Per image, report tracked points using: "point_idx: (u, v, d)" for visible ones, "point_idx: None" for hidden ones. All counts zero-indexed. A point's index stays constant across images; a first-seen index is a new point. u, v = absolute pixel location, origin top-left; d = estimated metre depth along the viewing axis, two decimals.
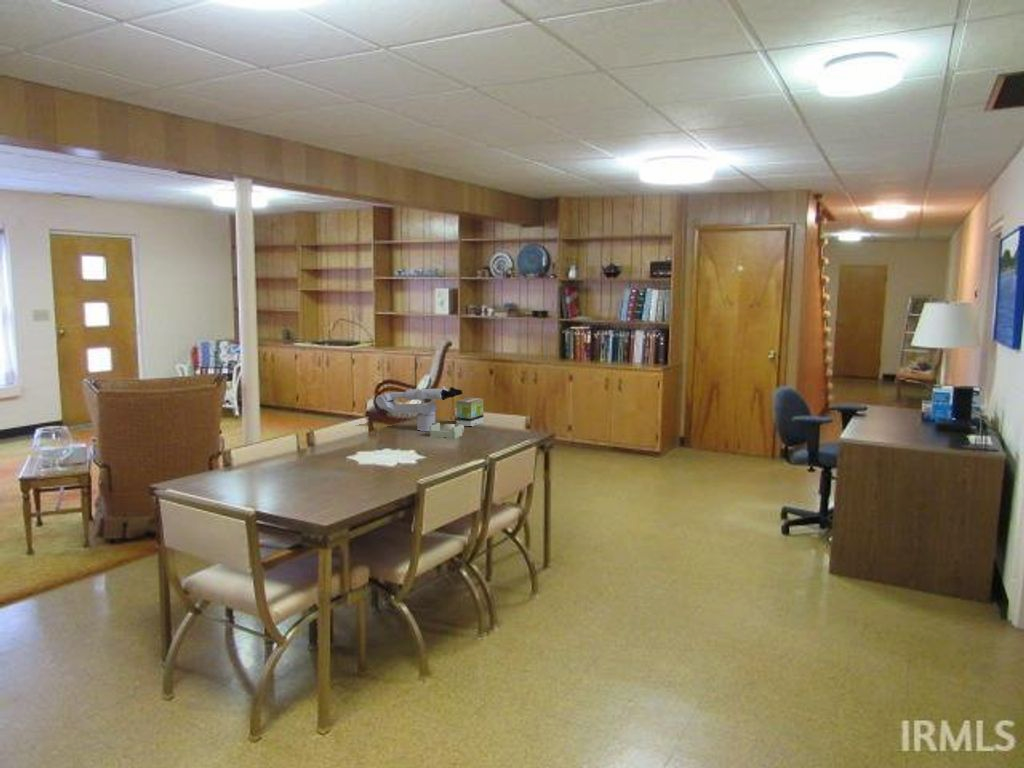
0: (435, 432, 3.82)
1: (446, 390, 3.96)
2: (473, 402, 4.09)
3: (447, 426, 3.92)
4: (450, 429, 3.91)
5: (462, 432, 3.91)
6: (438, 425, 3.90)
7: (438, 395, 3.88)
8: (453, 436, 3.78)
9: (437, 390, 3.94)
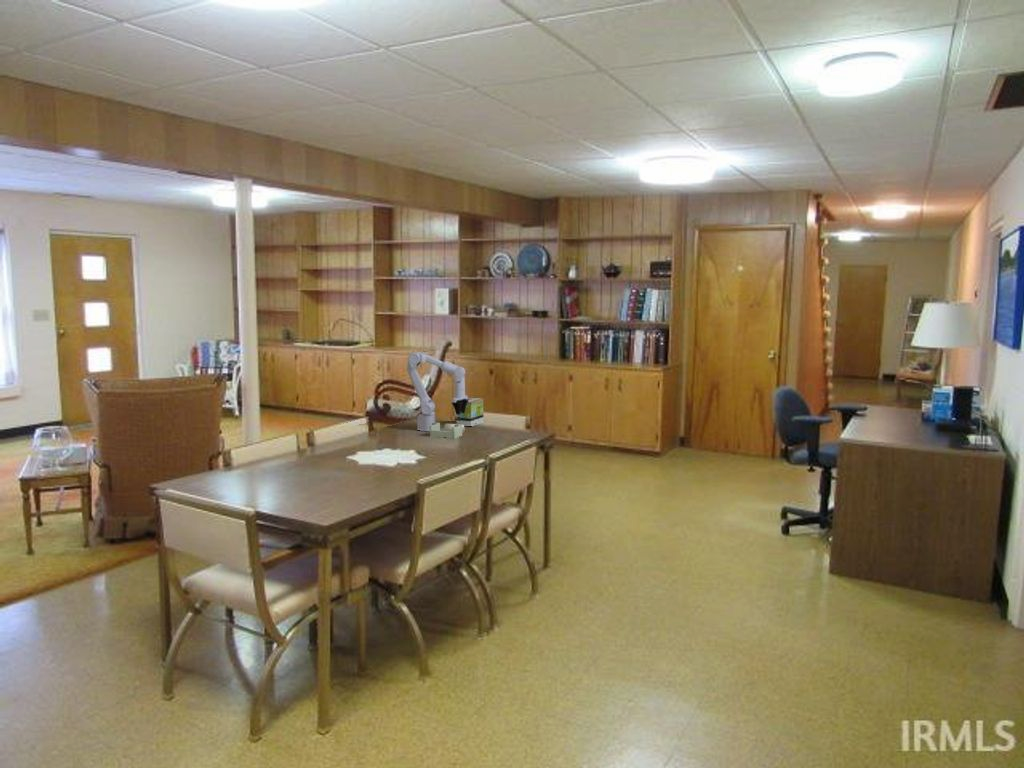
0: (435, 432, 3.82)
1: None
2: (473, 402, 4.09)
3: (448, 425, 3.93)
4: (451, 427, 3.91)
5: (462, 432, 3.92)
6: (438, 425, 3.90)
7: (453, 400, 3.91)
8: (453, 436, 3.78)
9: (461, 393, 3.95)
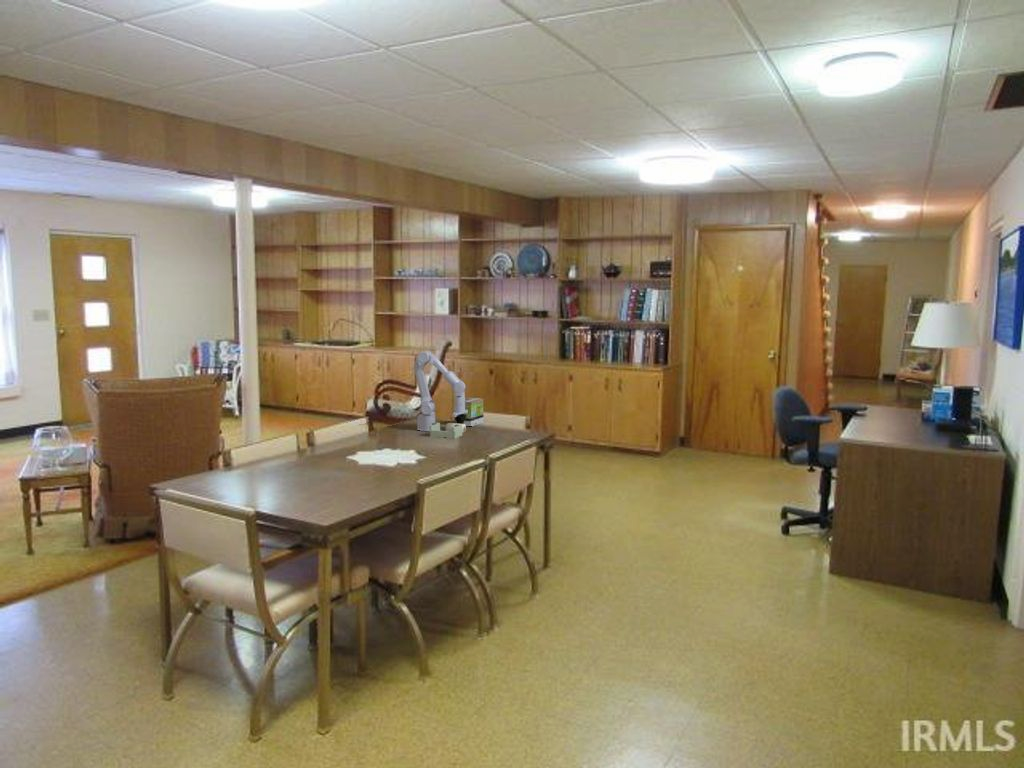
0: (435, 432, 3.82)
1: (464, 412, 4.00)
2: (473, 402, 4.09)
3: (451, 423, 3.96)
4: (454, 424, 3.94)
5: (463, 431, 3.92)
6: (438, 425, 3.90)
7: (453, 415, 3.92)
8: (453, 436, 3.78)
9: (461, 407, 3.96)
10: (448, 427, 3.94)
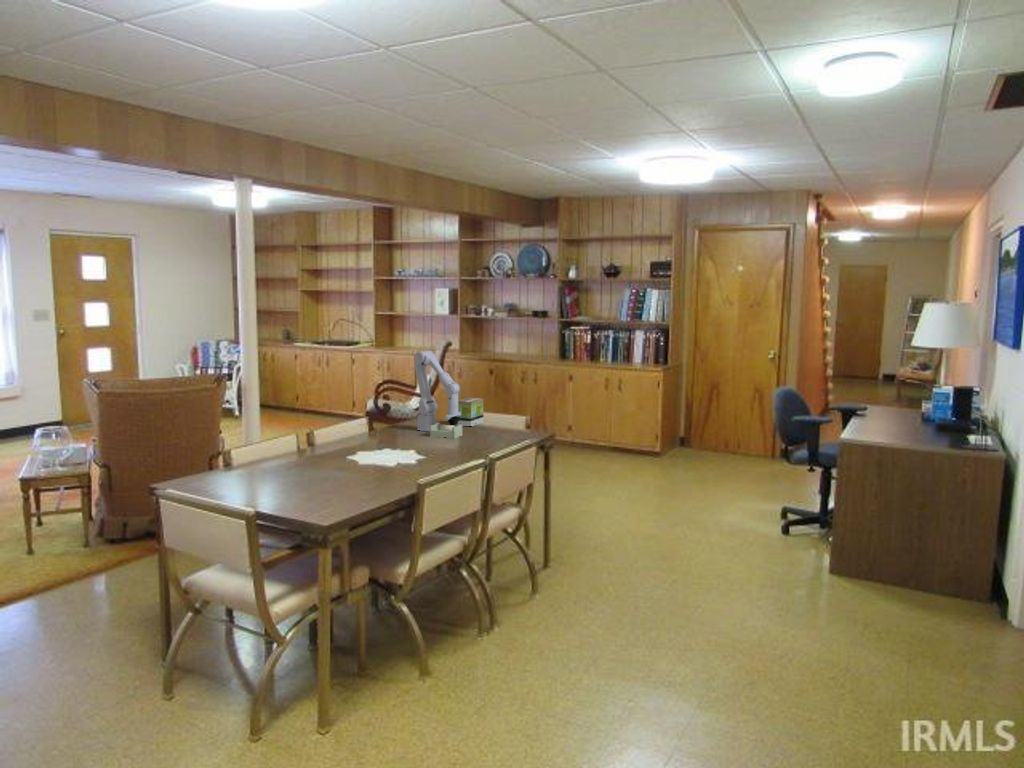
0: (435, 432, 3.82)
1: None
2: (473, 402, 4.09)
3: None
4: None
5: None
6: (438, 425, 3.90)
7: (446, 417, 3.85)
8: (453, 436, 3.78)
9: (454, 409, 3.88)
10: None
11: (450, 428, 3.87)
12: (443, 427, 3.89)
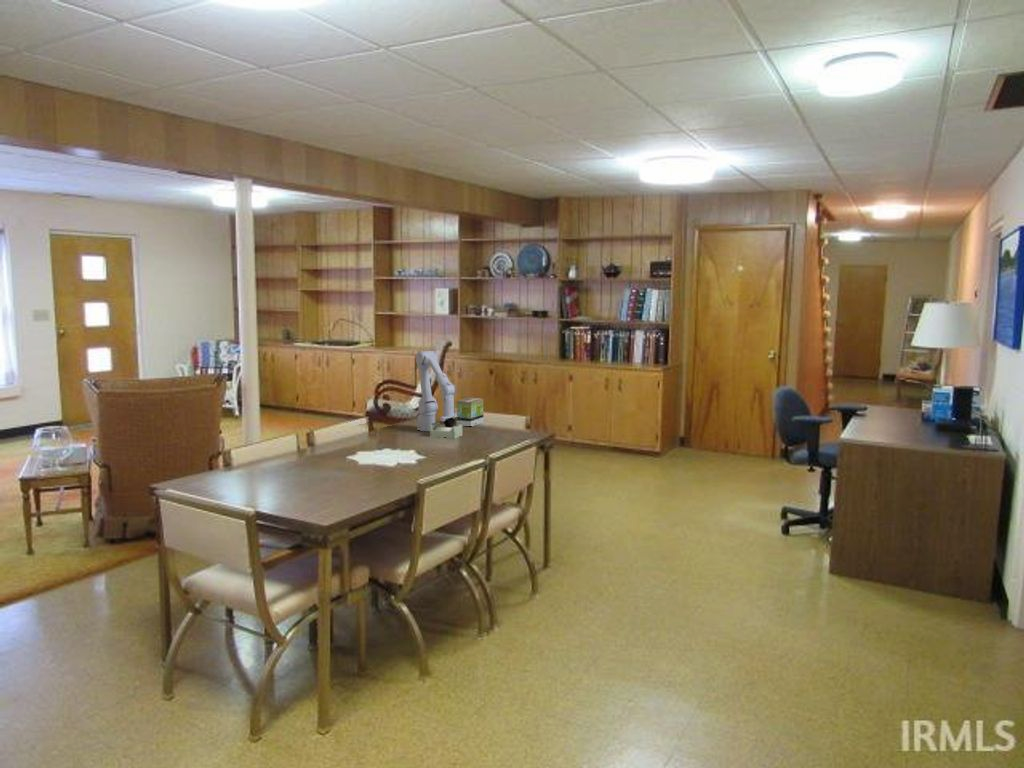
0: (435, 432, 3.82)
1: None
2: (473, 402, 4.09)
3: None
4: None
5: None
6: (438, 425, 3.90)
7: (442, 419, 3.80)
8: (453, 436, 3.78)
9: (450, 411, 3.84)
10: (439, 427, 3.85)
11: None
12: None
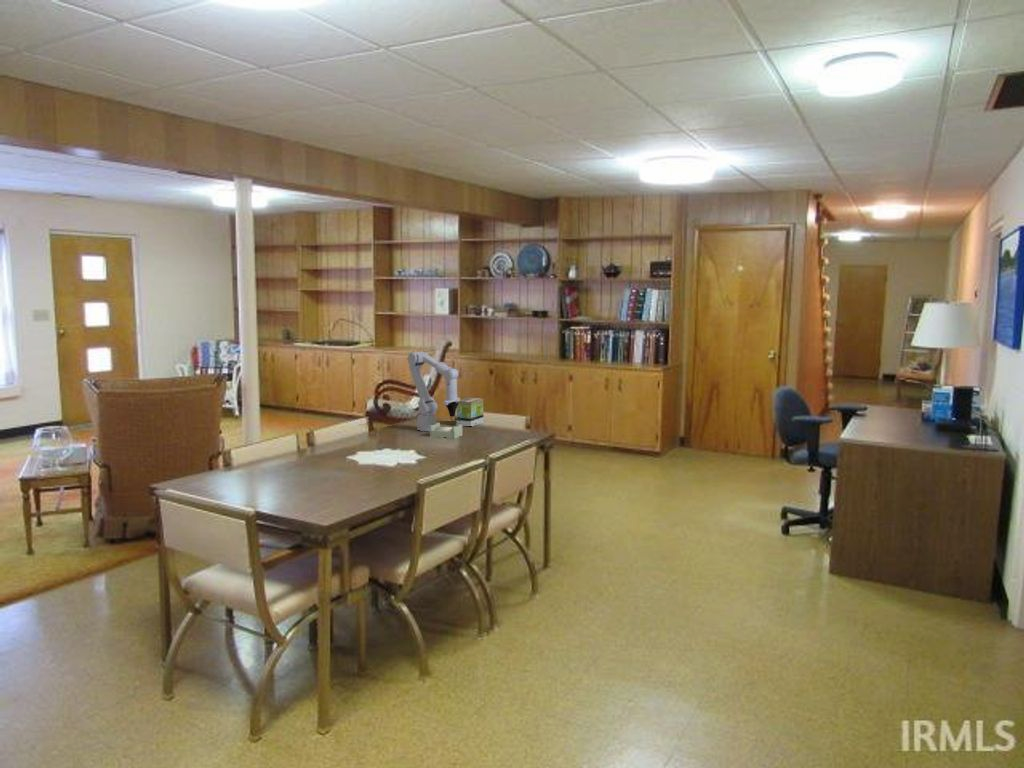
0: (435, 432, 3.82)
1: (456, 400, 3.91)
2: (473, 402, 4.09)
3: None
4: None
5: None
6: (438, 425, 3.90)
7: (445, 403, 3.83)
8: (453, 436, 3.78)
9: (453, 395, 3.87)
10: None
11: None
12: None
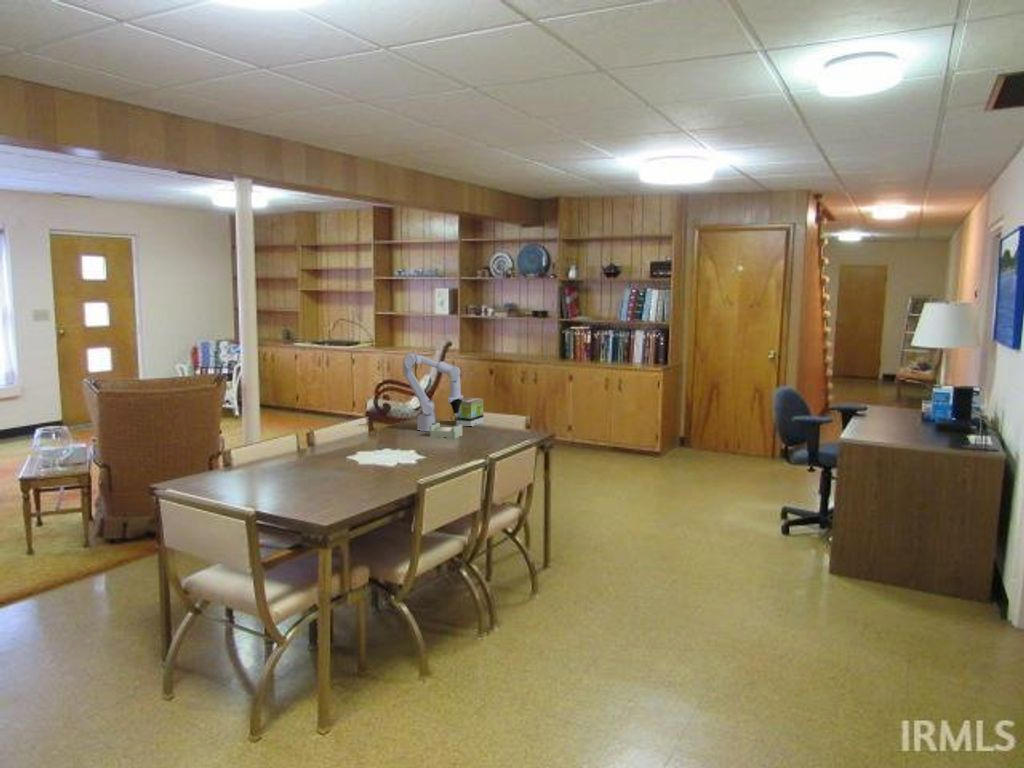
0: (435, 432, 3.82)
1: None
2: (473, 402, 4.09)
3: None
4: None
5: None
6: (438, 425, 3.90)
7: (449, 400, 3.93)
8: (453, 436, 3.78)
9: (457, 392, 3.96)
10: (440, 427, 3.85)
11: None
12: None
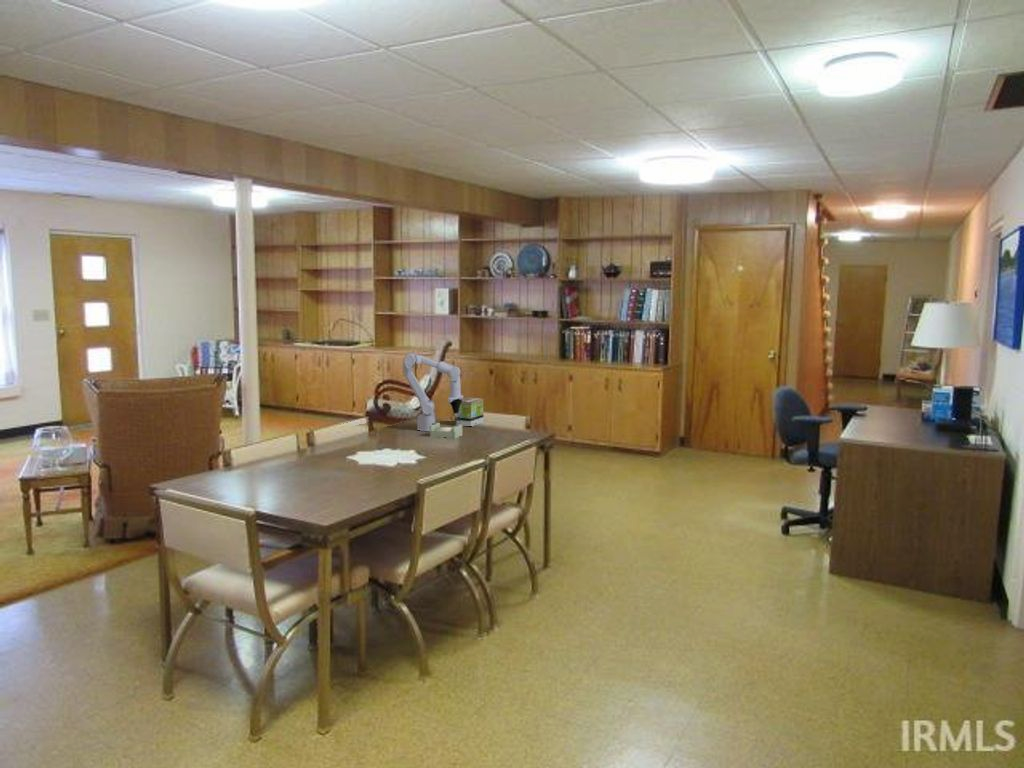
0: (435, 432, 3.82)
1: None
2: (473, 402, 4.09)
3: None
4: None
5: None
6: (438, 425, 3.90)
7: (449, 400, 3.93)
8: (453, 436, 3.78)
9: (457, 392, 3.96)
10: (440, 427, 3.85)
11: None
12: None
